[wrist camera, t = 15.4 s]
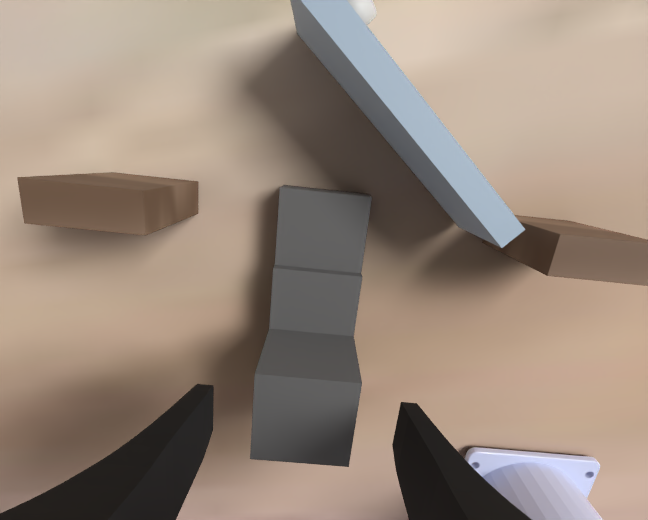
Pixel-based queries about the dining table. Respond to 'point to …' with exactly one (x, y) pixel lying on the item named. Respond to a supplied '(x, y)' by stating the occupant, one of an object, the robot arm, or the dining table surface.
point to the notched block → (312, 330)
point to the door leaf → (402, 114)
